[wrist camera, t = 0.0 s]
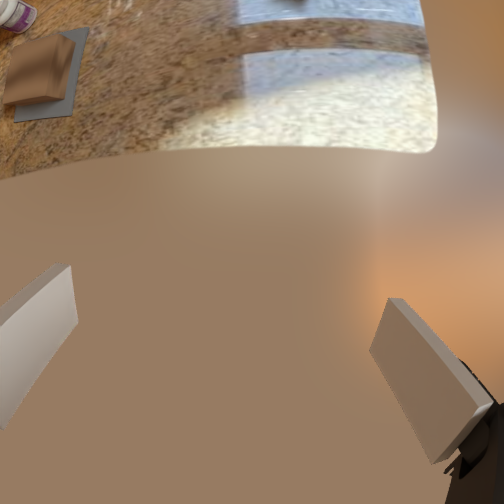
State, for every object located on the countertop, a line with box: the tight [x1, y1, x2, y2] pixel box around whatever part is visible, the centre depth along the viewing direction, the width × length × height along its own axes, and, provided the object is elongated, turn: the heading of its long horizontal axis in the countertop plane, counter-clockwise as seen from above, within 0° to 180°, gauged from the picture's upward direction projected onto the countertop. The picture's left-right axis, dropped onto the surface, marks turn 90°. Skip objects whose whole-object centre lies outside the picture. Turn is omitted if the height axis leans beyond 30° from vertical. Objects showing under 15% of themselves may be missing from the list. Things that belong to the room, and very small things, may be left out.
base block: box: [2, 34, 76, 106], centre depth 27 cm, size 9×9×5 cm
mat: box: [14, 27, 89, 122], centre depth 29 cm, size 14×12×1 cm
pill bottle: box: [0, 0, 37, 33], centre depth 20 cm, size 5×5×10 cm
